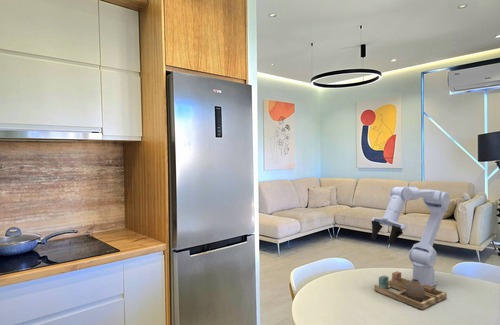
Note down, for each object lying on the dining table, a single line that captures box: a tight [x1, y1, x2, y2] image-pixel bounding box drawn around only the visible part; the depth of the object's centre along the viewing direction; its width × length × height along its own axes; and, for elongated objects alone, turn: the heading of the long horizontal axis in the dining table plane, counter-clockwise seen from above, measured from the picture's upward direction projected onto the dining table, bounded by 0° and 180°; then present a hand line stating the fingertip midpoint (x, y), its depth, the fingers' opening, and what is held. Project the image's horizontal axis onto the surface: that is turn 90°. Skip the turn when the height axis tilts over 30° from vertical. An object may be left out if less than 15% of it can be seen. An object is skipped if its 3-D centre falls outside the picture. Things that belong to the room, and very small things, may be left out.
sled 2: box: [389, 270, 447, 303], centre depth 135 cm, size 8×20×5 cm, turn 33°
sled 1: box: [373, 275, 437, 310], centre depth 129 cm, size 10×20×5 cm, turn 33°
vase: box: [405, 278, 425, 303], centre depth 125 cm, size 7×7×9 cm
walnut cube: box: [422, 284, 437, 296], centre depth 131 cm, size 4×4×4 cm
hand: (380, 241), depth 130 cm, fingers open, 7 cm apart
